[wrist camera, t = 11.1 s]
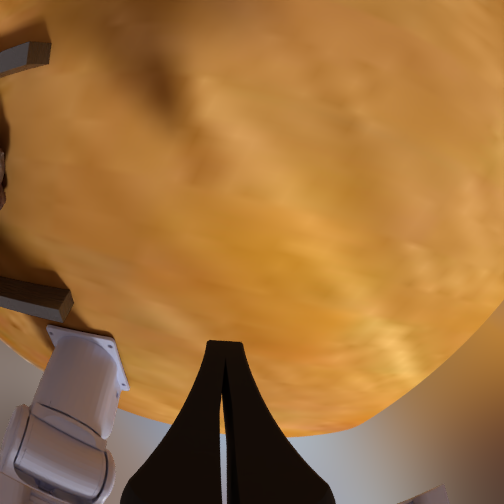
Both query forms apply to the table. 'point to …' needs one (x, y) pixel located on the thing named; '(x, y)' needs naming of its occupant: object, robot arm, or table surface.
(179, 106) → the table surface
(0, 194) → the rock
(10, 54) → the frame
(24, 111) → the table surface
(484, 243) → the table surface
